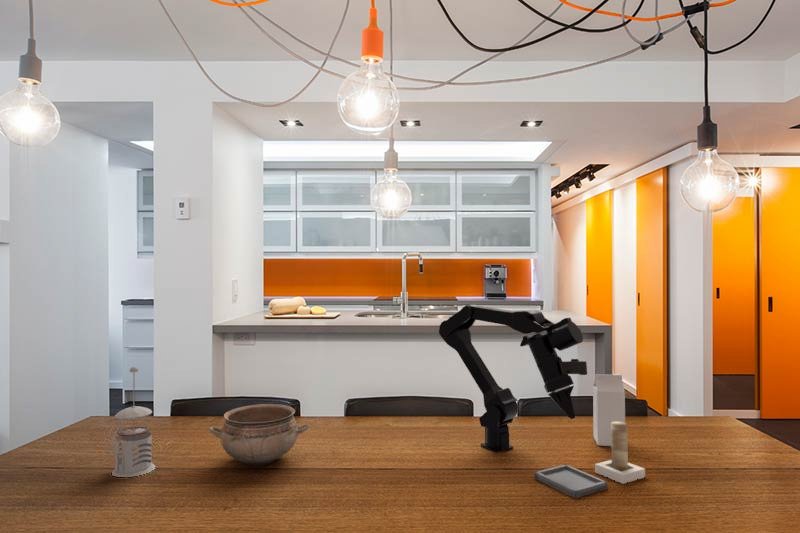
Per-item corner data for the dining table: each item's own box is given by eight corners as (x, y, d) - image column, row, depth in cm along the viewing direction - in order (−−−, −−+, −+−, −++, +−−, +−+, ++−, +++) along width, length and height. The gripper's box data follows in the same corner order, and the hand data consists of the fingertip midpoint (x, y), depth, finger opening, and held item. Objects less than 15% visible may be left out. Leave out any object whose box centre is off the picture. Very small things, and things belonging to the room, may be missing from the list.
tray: (534, 478, 119) (534, 472, 119) (566, 470, 124) (566, 464, 124) (574, 498, 108) (574, 491, 108) (607, 488, 113) (607, 481, 113)
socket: (595, 472, 123) (594, 463, 123) (616, 466, 126) (616, 458, 126) (622, 483, 116) (622, 474, 116) (645, 477, 119) (645, 468, 120)
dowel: (608, 473, 122) (607, 422, 122) (618, 471, 123) (617, 420, 124) (621, 478, 119) (620, 426, 119) (631, 476, 120) (630, 424, 120)
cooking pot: (312, 446, 141) (312, 402, 141) (306, 473, 122) (306, 421, 123) (218, 450, 139) (219, 404, 139) (198, 477, 120) (198, 425, 120)
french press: (165, 465, 128) (165, 364, 128) (126, 483, 117) (126, 373, 117) (134, 461, 131) (134, 362, 131) (93, 478, 120) (94, 370, 120)
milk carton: (625, 447, 140) (624, 377, 140) (597, 446, 141) (597, 376, 142) (619, 439, 147) (619, 372, 147) (593, 437, 148) (592, 371, 149)
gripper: (579, 342, 121) (609, 407, 116) (573, 348, 138) (599, 405, 134) (534, 359, 123) (561, 423, 118) (534, 363, 140) (558, 419, 135)
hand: (571, 417), depth 126 cm, fingers open, 9 cm apart
